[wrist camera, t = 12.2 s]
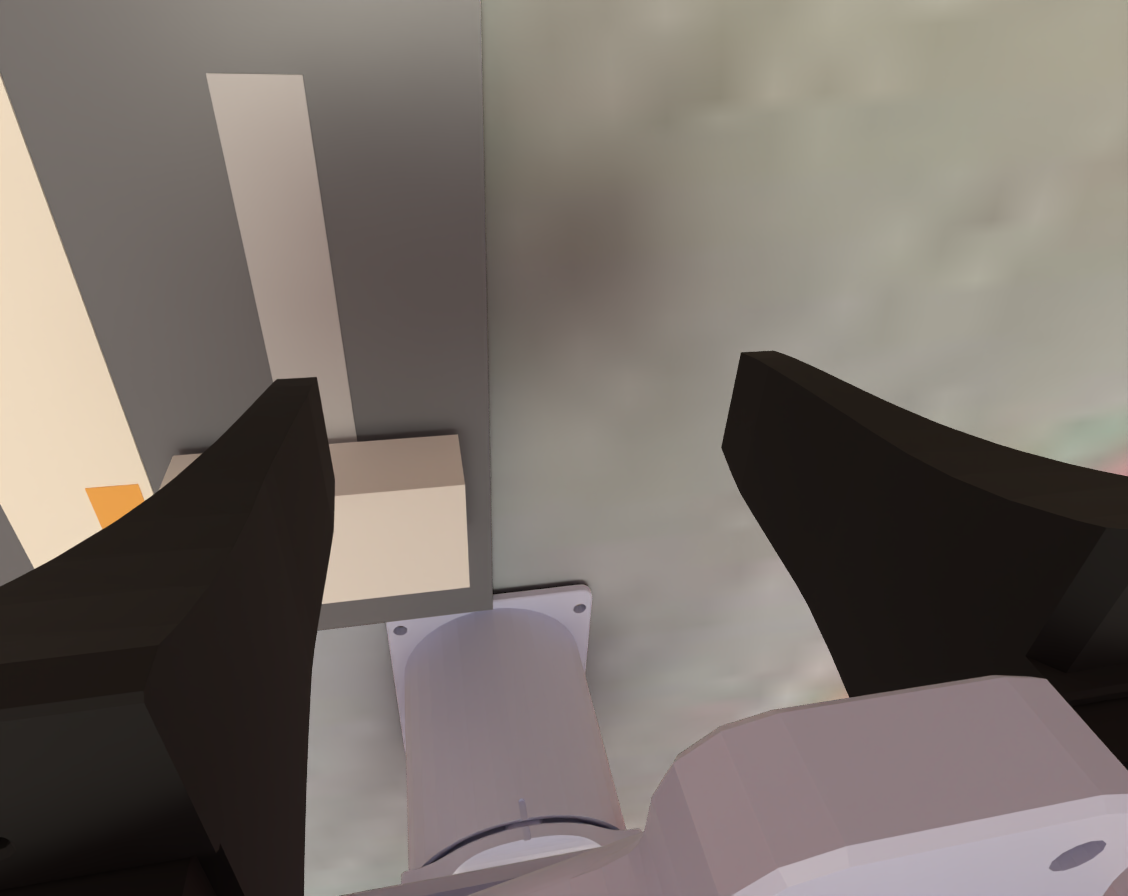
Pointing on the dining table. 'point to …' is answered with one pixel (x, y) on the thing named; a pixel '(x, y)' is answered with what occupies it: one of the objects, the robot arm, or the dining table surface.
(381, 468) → the slider
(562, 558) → the dining table surface
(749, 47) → the dining table surface
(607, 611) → the dining table surface
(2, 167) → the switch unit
